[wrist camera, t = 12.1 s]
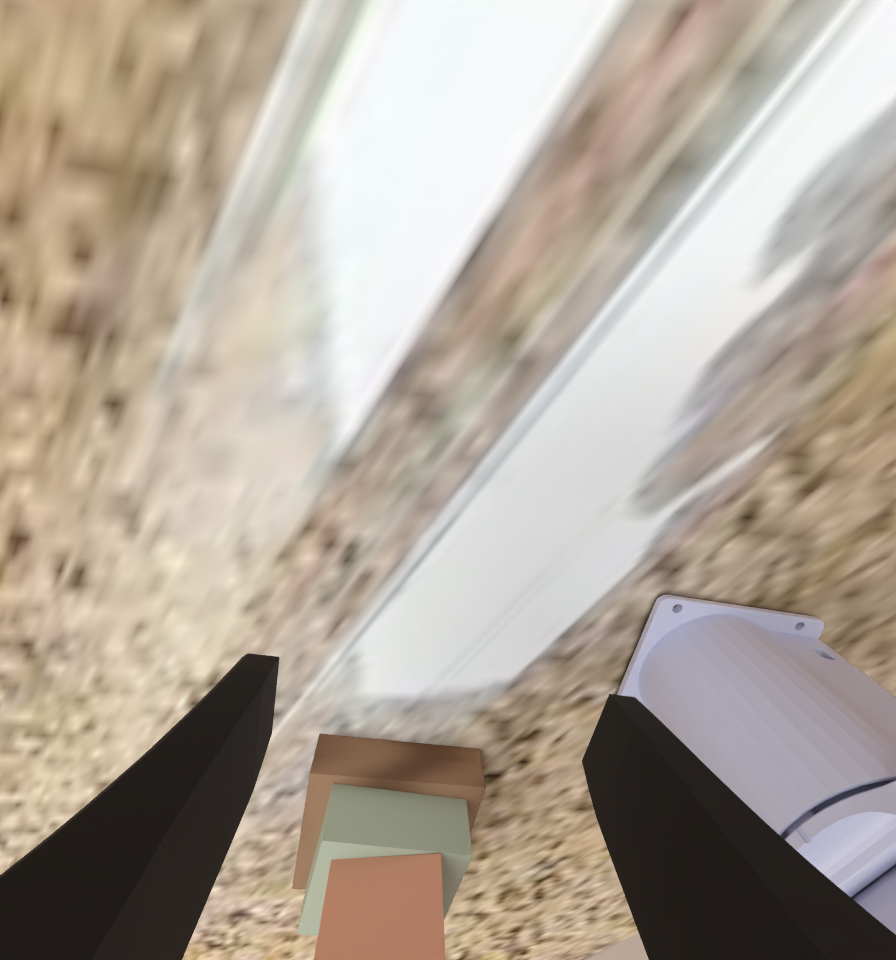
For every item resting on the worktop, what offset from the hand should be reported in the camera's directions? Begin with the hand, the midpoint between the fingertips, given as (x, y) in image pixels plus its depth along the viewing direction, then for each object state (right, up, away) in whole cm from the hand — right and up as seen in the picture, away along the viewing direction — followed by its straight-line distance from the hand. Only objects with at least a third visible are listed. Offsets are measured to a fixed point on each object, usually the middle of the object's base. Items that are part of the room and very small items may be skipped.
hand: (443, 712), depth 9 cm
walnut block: (-3, -14, +16) cm, 21 cm away
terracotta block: (-3, -15, +11) cm, 18 cm away
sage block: (-3, -14, +13) cm, 20 cm away
